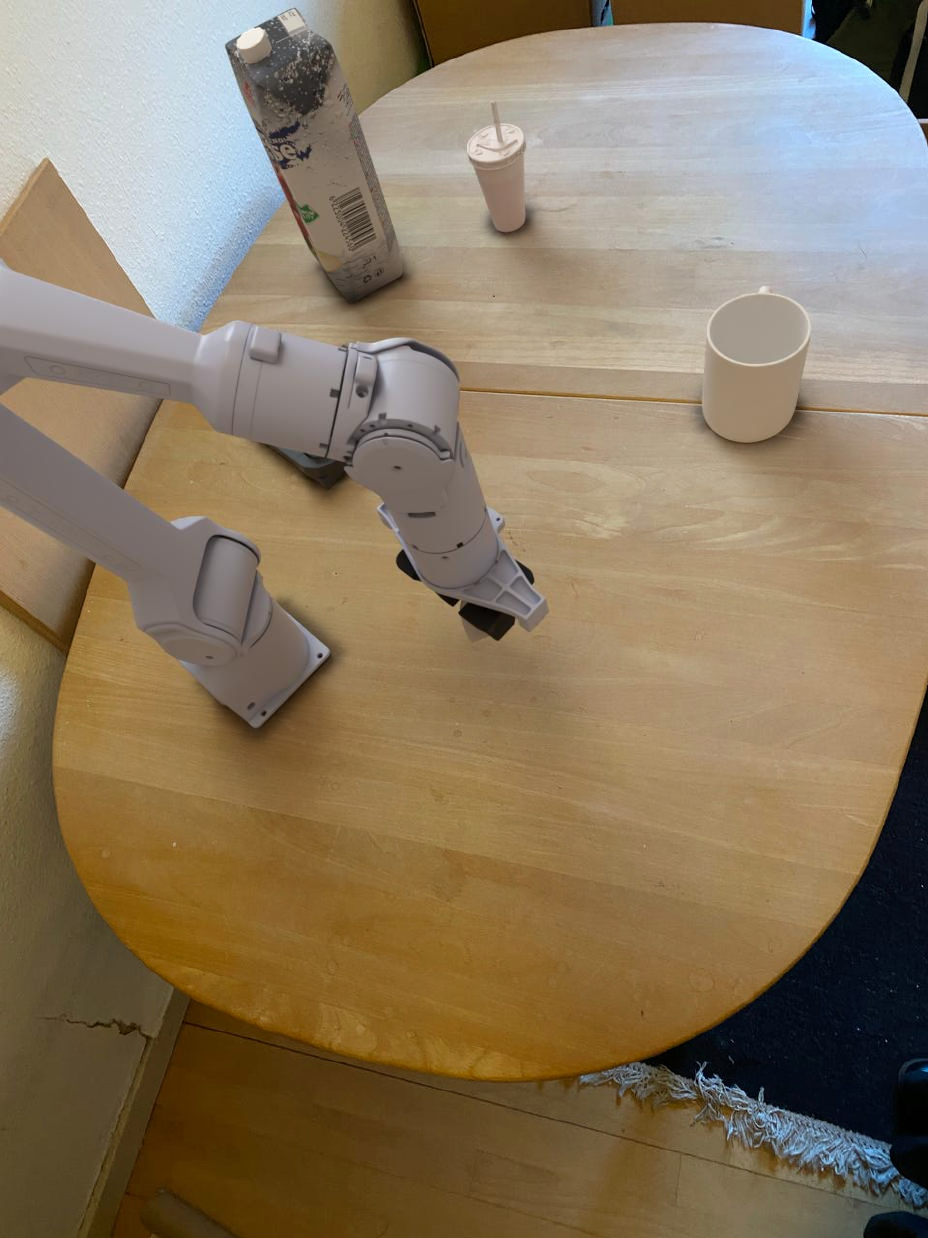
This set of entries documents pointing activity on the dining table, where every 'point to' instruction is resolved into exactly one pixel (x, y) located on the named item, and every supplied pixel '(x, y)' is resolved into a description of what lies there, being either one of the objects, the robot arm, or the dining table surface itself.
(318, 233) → the juice carton
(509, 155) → the smoothie
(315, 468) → the scale
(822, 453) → the dining table surface
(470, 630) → the beige rounded teardrop
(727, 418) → the cup
